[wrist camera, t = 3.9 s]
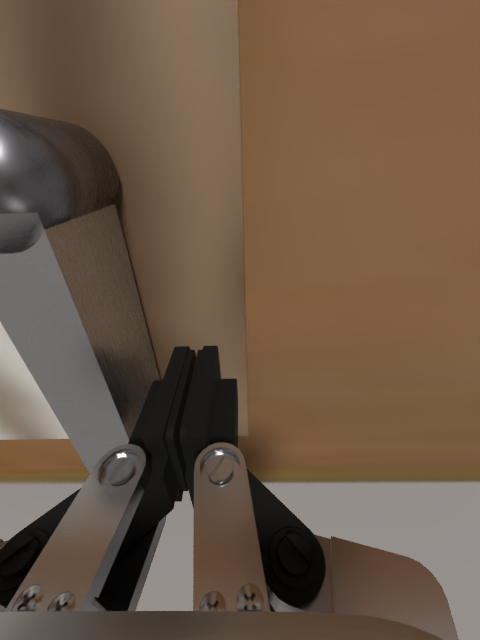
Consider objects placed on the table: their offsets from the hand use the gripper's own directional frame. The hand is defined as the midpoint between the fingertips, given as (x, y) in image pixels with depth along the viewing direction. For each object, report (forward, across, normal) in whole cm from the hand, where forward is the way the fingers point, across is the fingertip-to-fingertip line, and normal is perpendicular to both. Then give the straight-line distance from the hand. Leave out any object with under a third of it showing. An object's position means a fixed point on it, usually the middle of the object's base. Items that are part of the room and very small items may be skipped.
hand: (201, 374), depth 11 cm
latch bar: (+1, +3, -2) cm, 4 cm away
